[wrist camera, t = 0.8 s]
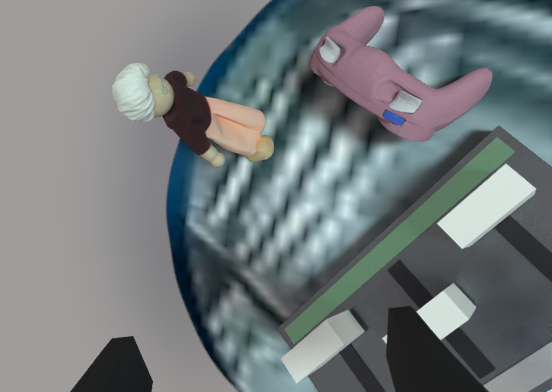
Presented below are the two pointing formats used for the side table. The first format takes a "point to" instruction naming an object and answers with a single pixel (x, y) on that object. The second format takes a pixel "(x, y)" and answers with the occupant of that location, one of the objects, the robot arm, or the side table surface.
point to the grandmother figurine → (192, 114)
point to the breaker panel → (441, 274)
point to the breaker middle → (446, 311)
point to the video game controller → (391, 81)
